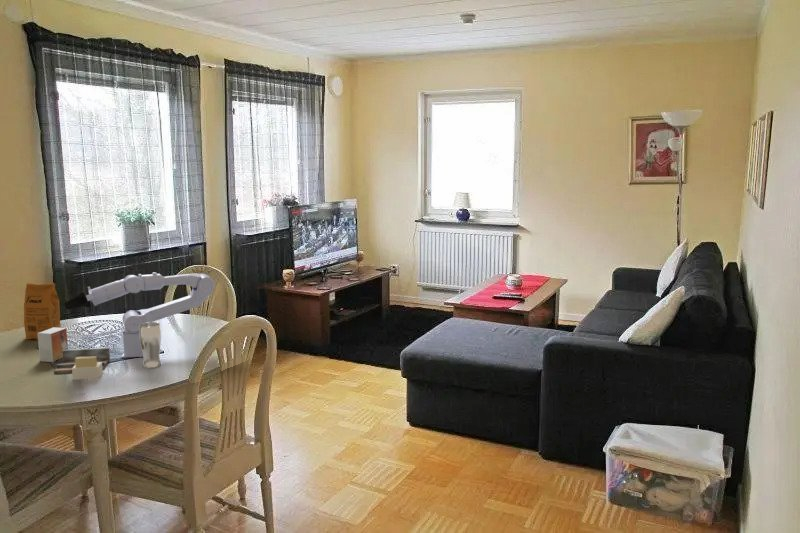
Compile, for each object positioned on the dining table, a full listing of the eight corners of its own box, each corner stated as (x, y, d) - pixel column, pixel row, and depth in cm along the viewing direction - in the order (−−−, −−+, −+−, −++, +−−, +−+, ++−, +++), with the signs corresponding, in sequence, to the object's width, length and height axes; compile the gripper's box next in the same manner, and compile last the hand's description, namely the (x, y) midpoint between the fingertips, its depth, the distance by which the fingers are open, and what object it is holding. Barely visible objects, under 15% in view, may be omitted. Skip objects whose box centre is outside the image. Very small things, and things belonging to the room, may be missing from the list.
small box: (53, 362, 224) (50, 333, 222) (39, 361, 225) (36, 332, 223) (69, 355, 231) (66, 327, 230) (55, 354, 233) (53, 326, 231)
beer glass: (167, 364, 223) (164, 323, 221) (151, 370, 217) (149, 328, 214) (152, 361, 226) (149, 320, 224) (136, 367, 220) (134, 325, 217)
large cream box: (102, 373, 214) (101, 353, 213) (99, 378, 209) (97, 358, 208) (76, 375, 212) (75, 354, 211) (72, 380, 207) (71, 359, 206)
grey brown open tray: (110, 359, 228) (109, 347, 227) (102, 370, 216) (101, 358, 215) (64, 362, 224) (63, 349, 224) (54, 373, 213) (53, 360, 212)
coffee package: (35, 333, 259) (30, 280, 255) (65, 333, 259) (61, 280, 255) (20, 340, 249) (15, 285, 245) (52, 340, 249) (47, 285, 245)
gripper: (103, 283, 233) (64, 296, 228) (101, 280, 219) (59, 294, 214) (110, 301, 233) (71, 315, 228) (109, 300, 220) (67, 314, 215)
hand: (66, 306), depth 221 cm, fingers open, 7 cm apart
